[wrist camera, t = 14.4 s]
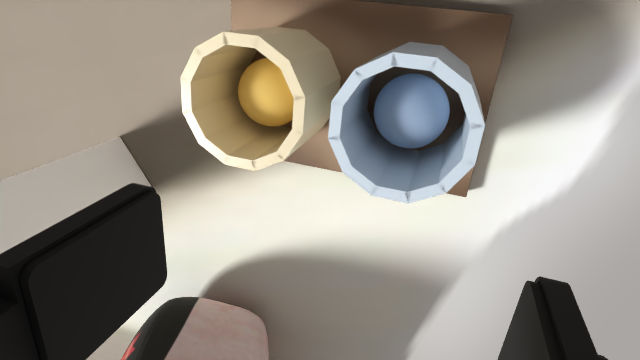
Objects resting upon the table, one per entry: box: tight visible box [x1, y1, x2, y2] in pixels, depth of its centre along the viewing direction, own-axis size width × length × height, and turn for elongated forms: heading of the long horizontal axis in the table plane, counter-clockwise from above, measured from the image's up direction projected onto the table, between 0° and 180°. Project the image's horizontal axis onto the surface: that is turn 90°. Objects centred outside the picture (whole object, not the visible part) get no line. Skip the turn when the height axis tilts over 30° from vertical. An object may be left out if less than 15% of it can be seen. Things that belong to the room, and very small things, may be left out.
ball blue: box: [374, 73, 450, 148], centre depth 28 cm, size 5×5×5 cm
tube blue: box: [328, 42, 485, 203], centre depth 26 cm, size 8×8×8 cm
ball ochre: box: [238, 58, 294, 126], centre depth 30 cm, size 5×5×5 cm
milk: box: [0, 137, 151, 254], centre depth 33 cm, size 6×6×22 cm
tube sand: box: [181, 27, 341, 171], centre depth 29 cm, size 8×8×8 cm
